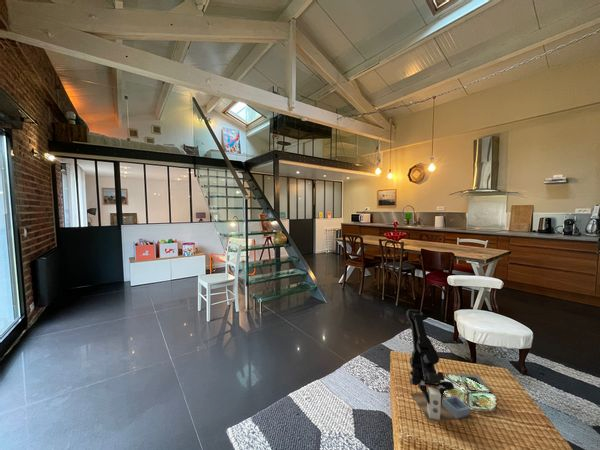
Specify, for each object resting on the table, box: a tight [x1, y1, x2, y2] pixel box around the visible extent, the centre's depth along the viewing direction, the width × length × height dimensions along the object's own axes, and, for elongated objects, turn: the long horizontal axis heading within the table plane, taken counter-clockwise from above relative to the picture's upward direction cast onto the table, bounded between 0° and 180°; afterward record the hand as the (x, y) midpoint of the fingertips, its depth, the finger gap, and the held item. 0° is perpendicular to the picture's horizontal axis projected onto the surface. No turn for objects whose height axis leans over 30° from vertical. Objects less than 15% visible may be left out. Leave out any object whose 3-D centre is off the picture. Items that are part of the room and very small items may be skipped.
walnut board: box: [409, 391, 474, 423], centre depth 120 cm, size 17×22×1 cm
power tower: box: [427, 386, 441, 420], centre depth 114 cm, size 5×4×12 cm
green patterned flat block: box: [458, 372, 490, 390], centre depth 135 cm, size 13×10×2 cm
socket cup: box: [443, 394, 471, 419], centre depth 117 cm, size 8×8×4 cm
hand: (434, 404), depth 113 cm, fingers open, 5 cm apart
